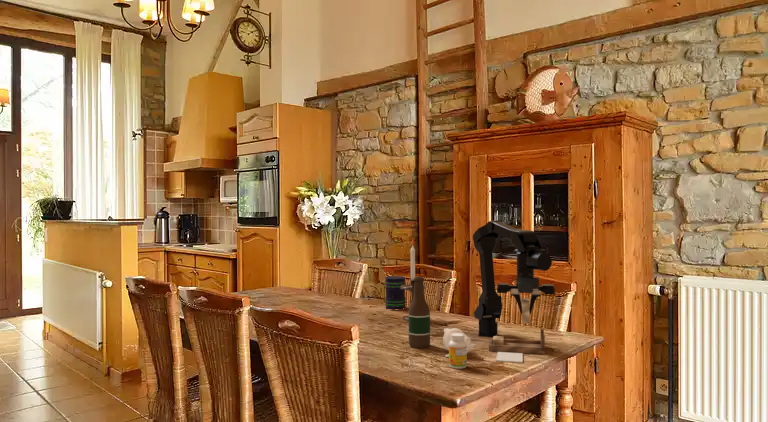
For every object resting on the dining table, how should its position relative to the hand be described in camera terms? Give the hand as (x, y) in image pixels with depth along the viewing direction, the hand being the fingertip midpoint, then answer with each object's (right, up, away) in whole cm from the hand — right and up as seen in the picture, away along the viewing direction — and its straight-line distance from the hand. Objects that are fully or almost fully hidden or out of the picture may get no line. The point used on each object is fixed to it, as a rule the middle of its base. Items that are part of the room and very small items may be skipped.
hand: (525, 314), depth 186 cm
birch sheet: (0, -2, 0) cm, 2 cm away
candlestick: (-35, -12, +52) cm, 64 cm away
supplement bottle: (-26, -13, -19) cm, 34 cm away
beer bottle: (-36, -12, +6) cm, 38 cm away
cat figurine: (-25, -13, -4) cm, 28 cm away
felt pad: (-8, -12, -10) cm, 18 cm away
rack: (-3, -12, +1) cm, 12 cm away
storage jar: (-42, -12, +77) cm, 89 cm away
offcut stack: (-9, -11, +2) cm, 14 cm away
